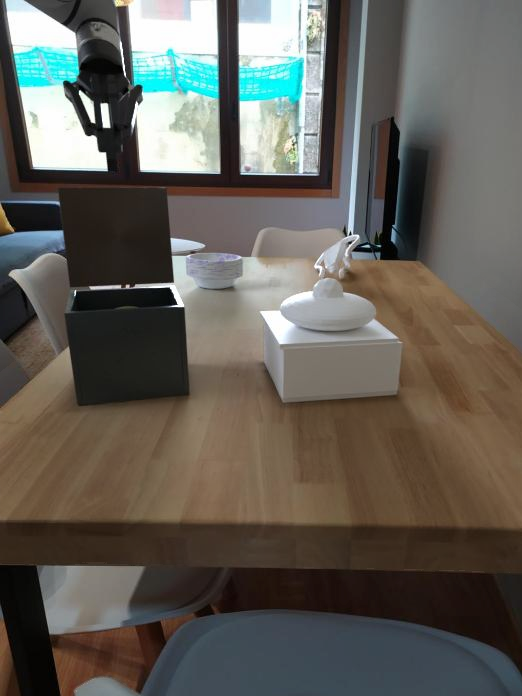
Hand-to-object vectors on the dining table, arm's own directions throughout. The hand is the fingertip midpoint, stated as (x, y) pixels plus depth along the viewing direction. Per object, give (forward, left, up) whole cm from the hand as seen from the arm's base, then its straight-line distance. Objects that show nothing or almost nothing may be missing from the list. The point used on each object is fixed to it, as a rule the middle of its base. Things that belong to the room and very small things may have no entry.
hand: (112, 165), depth 85 cm
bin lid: (+7, -3, -10) cm, 12 cm away
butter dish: (+29, +21, -31) cm, 47 cm away
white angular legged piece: (-32, +79, -31) cm, 91 cm away
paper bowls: (-39, +40, -31) cm, 64 cm away
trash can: (+14, -5, -31) cm, 34 cm away
